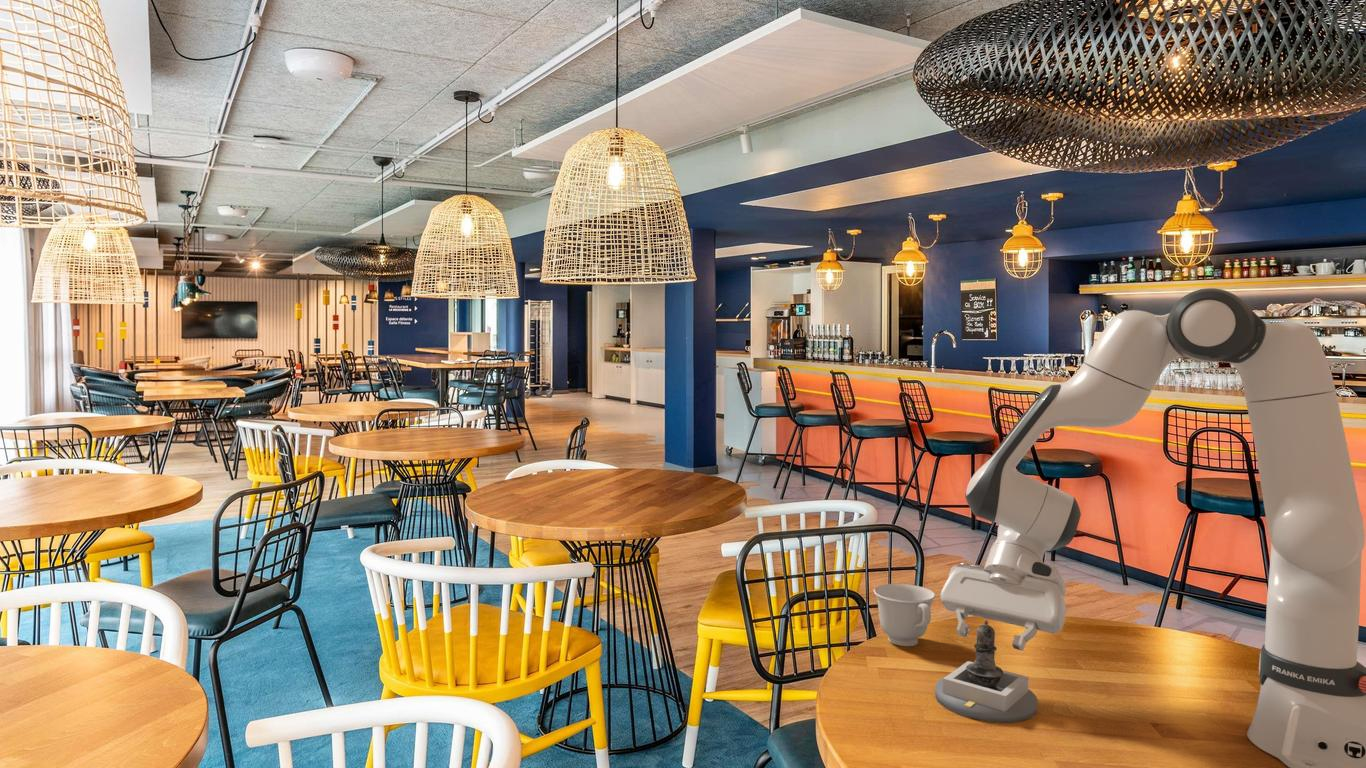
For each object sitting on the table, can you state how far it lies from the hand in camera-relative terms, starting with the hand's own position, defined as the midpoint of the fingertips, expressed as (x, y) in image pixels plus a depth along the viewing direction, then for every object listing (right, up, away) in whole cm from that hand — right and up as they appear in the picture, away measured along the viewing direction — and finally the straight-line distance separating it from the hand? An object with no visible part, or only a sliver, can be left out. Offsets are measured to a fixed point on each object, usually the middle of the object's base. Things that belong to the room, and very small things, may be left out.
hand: (988, 641), depth 142 cm
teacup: (-7, -9, +27) cm, 29 cm away
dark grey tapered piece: (0, -9, +1) cm, 9 cm away
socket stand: (0, -10, 0) cm, 10 cm away
